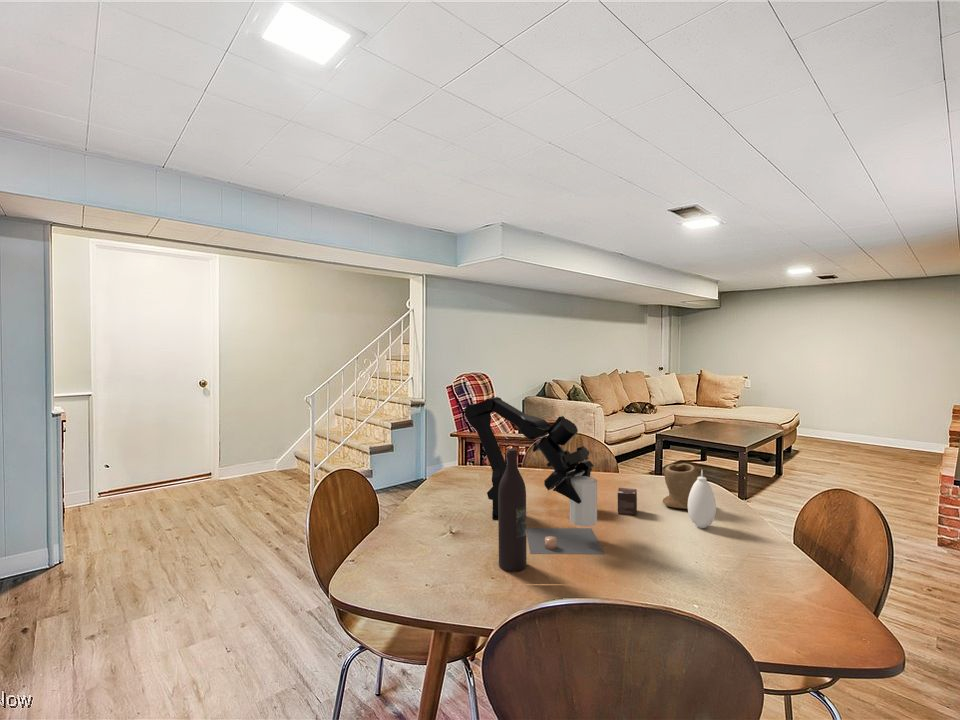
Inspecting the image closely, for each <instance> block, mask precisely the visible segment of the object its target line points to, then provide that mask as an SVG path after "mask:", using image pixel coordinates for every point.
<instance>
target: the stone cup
mask: <svg viewBox="0 0 960 720" xmlns="http://www.w3.org/2000/svg"><path fill="white" fill-rule="evenodd" d="M698 474H699V473H698V471H697V468H696V467H695V466H694V465H692V464H690V463H686V462H685V463H684V462H683V463H679V464H676V463H671V464H669V465H667V466H666V467H665V468H664V480H665V481H664V482H665V484H666V486H667V489H668V495H667V496H665V497H664V498H663V499H662V504H663V505H665V507H669V508H676V509H683V510H688V497H689V494H690V491H691V488H692V486H693V484H694V483H695V482H696V481H697V477H699V475H698Z"/></svg>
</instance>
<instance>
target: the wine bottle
mask: <svg viewBox="0 0 960 720" xmlns="http://www.w3.org/2000/svg"><path fill="white" fill-rule="evenodd" d="M518 453H519V452H518V450H517V448H507V449H506V452H505V455H506V465H507V467H506V470H505V473H504V475H503V476H502V478H501V481H500V484H499V490H498V519H497V521H498V524H497V525H498V527H497V528H498V567H499V568H500V570H502V571H504V572H507V573H518V572H521V571H525V569H526V568H527V533H526V528H527V488H526V483H525V480H524V478H523V476H522V474H521V473H520V471H519V468H518V456H519V455H518Z"/></svg>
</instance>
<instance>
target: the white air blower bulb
mask: <svg viewBox="0 0 960 720" xmlns="http://www.w3.org/2000/svg"><path fill="white" fill-rule="evenodd" d="M703 474H704V472H703V469H701V471H700V476H698V477H697V481H696V482H695V483H694V484H693V486H692V488H691V491H690V494H689V497H688V509H687V512H688V516H689V519H690V520H691V522H692V523H693V524H694V525H695V526H696V527H698V528H700V529H705V528H707V527H709V526H711V525H712V523H713V522H714V520H715V518H716V511H717V502H716V497H715V494H714V491H713V488H712V487H711V485H710V483H709V482H708V481H707V479H708V478H707V477H705V476H704V475H703Z"/></svg>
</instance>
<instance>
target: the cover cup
mask: <svg viewBox="0 0 960 720" xmlns="http://www.w3.org/2000/svg"><path fill="white" fill-rule="evenodd" d="M571 485H572V486H573V488H574V490H575V491H576V493H577V494H578V496H579V498H580V500H581V503H580V504H578V503H576V502H574V501H573V500H571V499H569V521H570V523H571V524H573V525H575V526H580V527H591V526H595V525H597V523H598V480H597V478H595V477H592V476H590V477H587V476H575V477H571Z"/></svg>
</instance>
